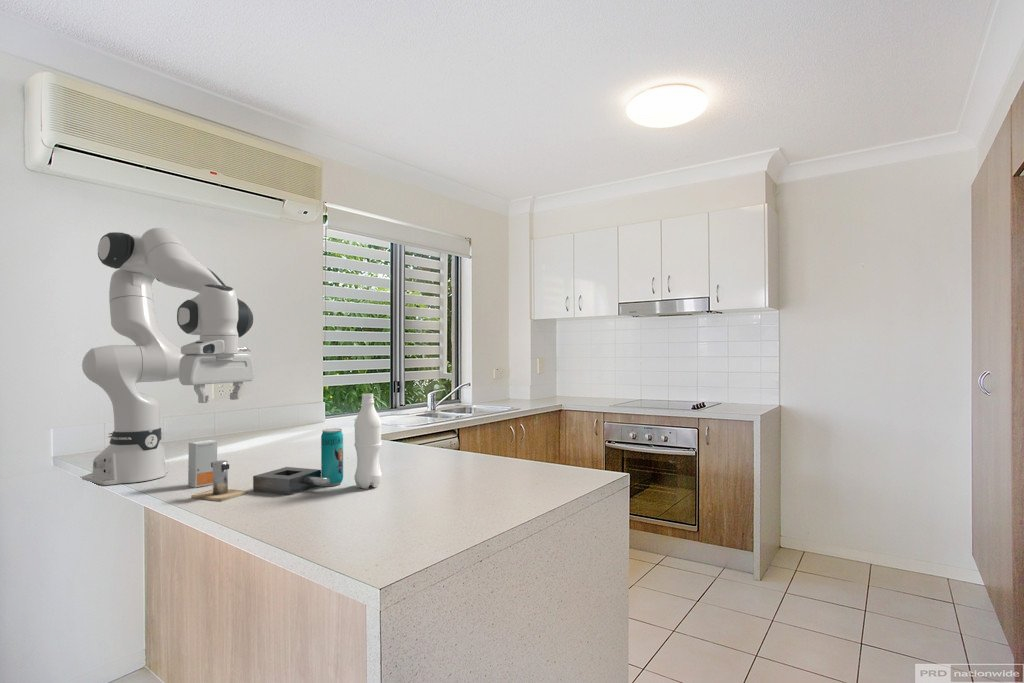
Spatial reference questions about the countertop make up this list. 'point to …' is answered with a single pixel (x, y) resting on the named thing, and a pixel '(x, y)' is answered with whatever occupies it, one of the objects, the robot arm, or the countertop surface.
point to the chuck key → (220, 477)
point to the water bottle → (367, 444)
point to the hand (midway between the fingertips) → (219, 401)
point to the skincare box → (201, 463)
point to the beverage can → (332, 455)
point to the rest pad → (209, 495)
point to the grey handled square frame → (288, 480)
